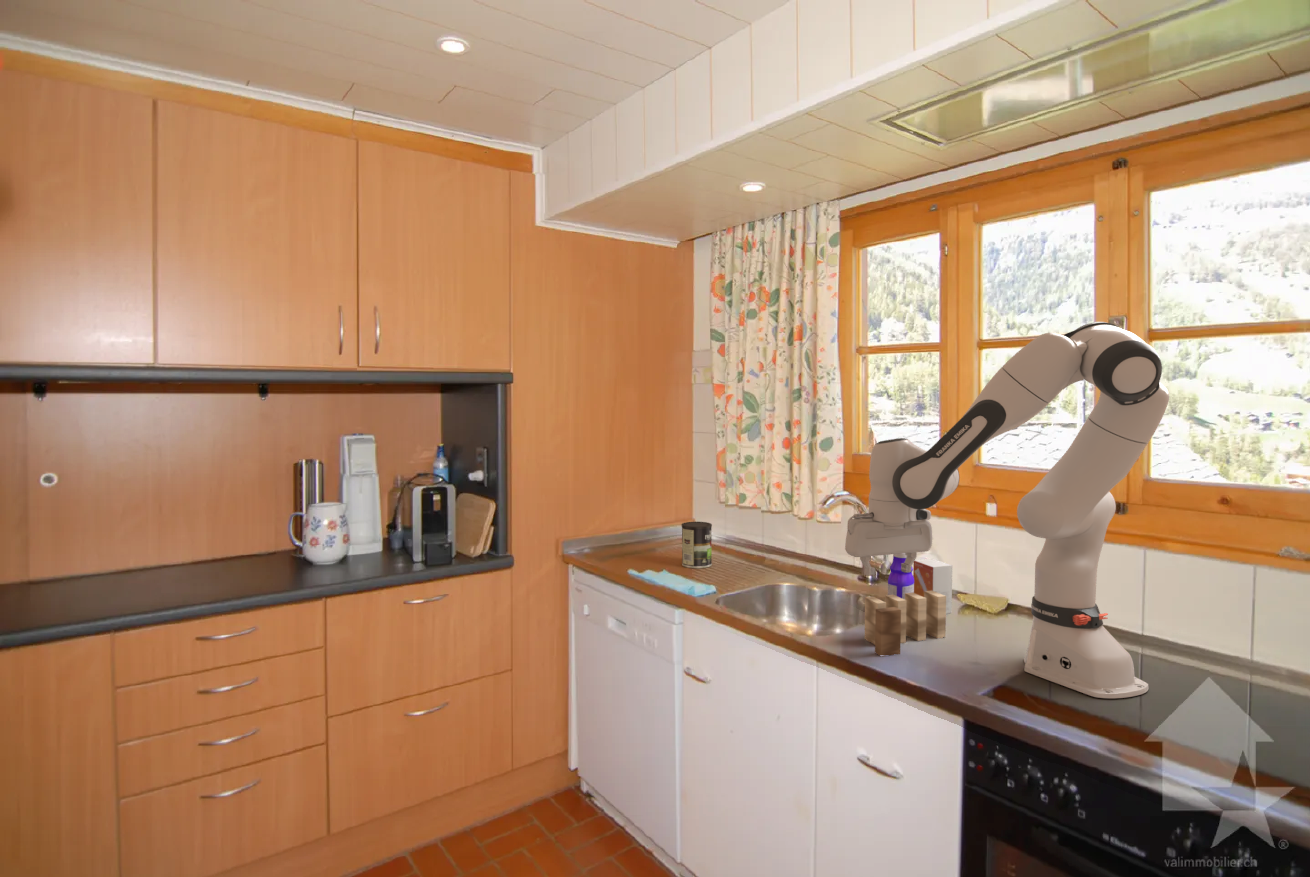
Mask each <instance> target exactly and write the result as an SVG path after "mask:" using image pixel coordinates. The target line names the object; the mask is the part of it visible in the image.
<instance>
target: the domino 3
mask: <svg viewBox="0 0 1310 877" xmlns="http://www.w3.org/2000/svg"><path fill="white" fill-rule="evenodd" d="M901 644H902V643H901V610H900V609H898V608H896V607H890V608H881V609H876V617H875V645H874V653H875V652H876V653H877V654H878V656H879V655H889V656H895V655H894V654H897V655H901ZM876 653H875V654H876ZM877 654H876V655H877Z"/></svg>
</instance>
